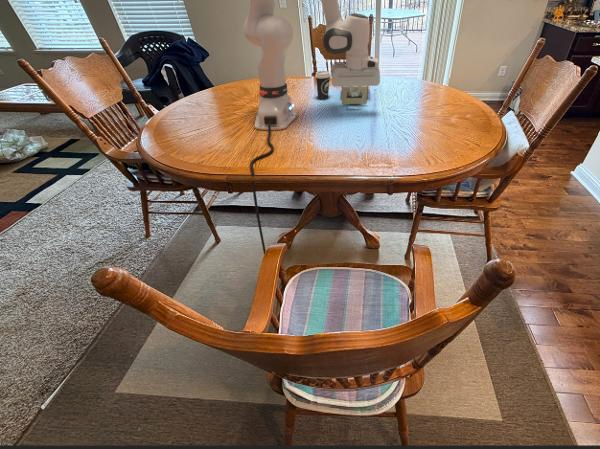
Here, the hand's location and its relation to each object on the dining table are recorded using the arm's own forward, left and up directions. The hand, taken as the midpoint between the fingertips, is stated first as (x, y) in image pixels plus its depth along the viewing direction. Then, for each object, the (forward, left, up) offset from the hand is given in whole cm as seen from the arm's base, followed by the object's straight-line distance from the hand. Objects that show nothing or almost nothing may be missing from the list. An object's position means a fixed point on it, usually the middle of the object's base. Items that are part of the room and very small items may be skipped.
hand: (354, 96), depth 133 cm
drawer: (+13, 0, -7) cm, 15 cm away
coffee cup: (+21, +16, -8) cm, 28 cm away
